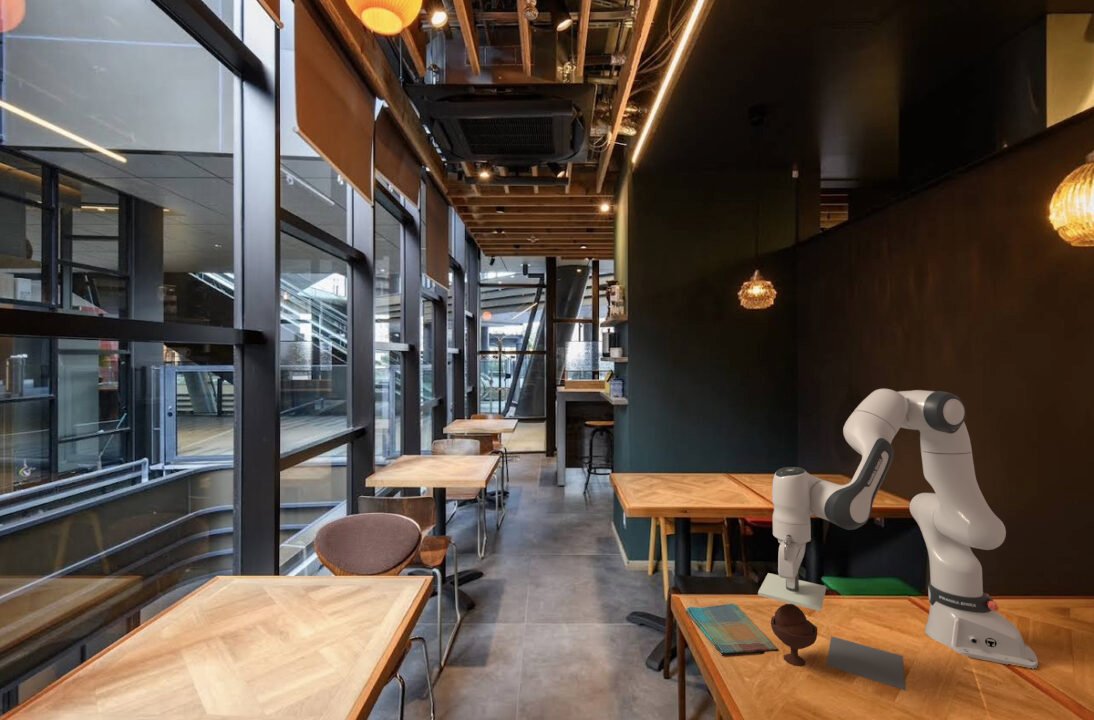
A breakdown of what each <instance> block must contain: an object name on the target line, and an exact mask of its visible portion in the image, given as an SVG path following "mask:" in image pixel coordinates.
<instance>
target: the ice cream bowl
mask: <svg viewBox="0 0 1094 720" xmlns="http://www.w3.org/2000/svg"><path fill="white" fill-rule="evenodd" d="M770 618H771V619H770V625H771V630H772V631H773V634H774V635H775V636H776V637H777V639H779V640H780V641H781V642H782V644H784V645H786V646H787V647H789V648H790V653H787V654H785V655H783V660H784V661H785V662H786V663H787V664H789V665H791V666H794V667H804V666H806V661H807V660H805V659H804V658H803V657H801V656H800V655H799V650H803V649H807V648H808V647H811V646H812V645H813V644H815V642H816V641H817V636H818V626H816V625H815V624H814V623H813V622H811V621H809V620H808V619H807V617H806V615H805V613H804V611H803V610H802V609H800V607H799V606H797V605H794V604H790V603H785V604H783V605H781V606H779V607H778V608H777V609H776V611H775V613H774V616H771V617H770Z"/></svg>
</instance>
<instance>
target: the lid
mask: <svg viewBox="0 0 1094 720" xmlns="http://www.w3.org/2000/svg"><path fill="white" fill-rule="evenodd" d="M799 576H800V575H799V572H798V573H797V574H796V577H795V588H794V589H792V588H788V587H787V579H785V578H781V577H780V576H779V574H774V573H769V572H768V573H767V575H766V576H765V578H764V580H763V582H762V583H761V586H760V587H759V589H758V592H757V595H758V596H759V597H764V598H766V599H770V600H775V601H778V602H781V603H785V604H794V605H795V606H797V607H802V608H806V609H810V610H813V611H817V612H822V608H823V603H824V600H825V599H824V598H825V595H826V590H827V586H826V585H822V584H818V583H814V582H809V581H805V580H801V579H799V578H800V577H799Z"/></svg>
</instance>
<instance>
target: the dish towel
mask: <svg viewBox="0 0 1094 720" xmlns="http://www.w3.org/2000/svg"><path fill="white" fill-rule="evenodd" d="M685 609H686V610H685V613H686V615H687V616H688V618H689V619H691V621H692V622H693V623H694V624H695V625H696V626H697V627H698V628H699V630H700V631H701V632H702V633H703V635H704V636H705V637H706V638H707V639H708V641H709V642H710V643H711V644H713V645H714V646H715V647H714V646H713V645H712V646H713V647H714V649H715V650H716V651H717V652H718V651H719V652H720V653H721V654H722V655H721V654H720V653H719V652H718V653H719V654H720V655H721V657H722V656H725V657H734V656H738V657H739V656H746V655H747V656H749V655H750V656H751V655H753V656H754V655H763V654H765V653H766V652H771V651H777V652H778V651H779V650H780V649H779V648H778V647H777V646H776V645H775V644H774V643H773V642H772V641H771V640H770V639H769V638H768V636H766V634H765V633H763V631H762V630H761V629H760V628H759V627H758V626H757V625H756V624H755V623H754V622H753V621H752V620H751V619H750V618H749V617H748V616H747V615H746V614H745V612H744V611H742V609H741V608H740V607H739V606H738V605H737V604H735V603H727V604H721V605H720V604H719V605H712V606H704V607H703V606H702V607H701V606H699V607H698V606H697V607H696V606H695V607H694V606H688V607H686V608H685Z"/></svg>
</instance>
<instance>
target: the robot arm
mask: <svg viewBox="0 0 1094 720" xmlns="http://www.w3.org/2000/svg"><path fill="white" fill-rule="evenodd" d="M853 410H854V411H853V412H851V414H850V415H849V417H848V418H847V420H846V421H845V423H844V425H843V429H842V430H843V431H842V433H843V437H844V439H845V441H846V442H847V443H848V445H849V446H850V447H851V449H852V450H854V451H855V452H856V453H858V454H859V455H861V461H860V462H859V465H858V466H857V469H856V470H855V473H854V475H853V476H852V479H851V481H850V482H848V483H846V484H838V483H835V482H831V481H830V480H825V479H821V478H819V477H816V476H814V475H812V474H810V473H809V472H807V471H806V470H805V469H804V468H802V467H797V466H791V467H790V466H786V467H782V468H779V469H778V470H776V471H775V473H774V475H773V479H772V487H771V488H772V489H771V492H772V493H771V495H772V496H771V497H772V498H771V499H772V505H773V513H772V535H773V536H774V537H775V538H776V539H777V541H778V543H779V546H778V556H777V557H778V558H777V561H778V562H777V565H778V567H777V571H778V572H777V573H778V574H777V575H779V576H780V577H781V578H785V579H787V587H788V588H792V589H794V588H795V577H796V574H797V573H798V574H799V569H800V567H801V564H802V562H803V558H804V557H805V553H806V545H807V543H808V542H811V540H812V537H811V535H812V533H811V532H812V531H811V530H812V529H811V526H812V525H811V516H816V517H818V518H821V519H823V520H826V521H828V522H830V523H832V524H834V525H836V526H837V527H840V528H842V529H845V530H847V531H849V530H851V531H853V530H856V529H859V528H860V527H861V528H862V526H864V525H865V524H866V523H867V522H868V520H869V519H870V517H871V513H872V509H873V505H874V503H875V502H874V501H875V499H876V497H877V495H878V492H879V490H880V487H881V486H882V484H883V482H884V480H885V477H886V476H887V473H888V471H889V469H890V466H891V464H892V462H893V459H894V454H895V451H894V447H893V445H892V441H893V440H894V438H895V437H896V435H897V433H898V432H899V430H900V429H902V428H903V429H907V430H914V431H919V433H920V434H919V435H920V436H919V441H920V443H919V444H920V454H921V462H922V471H923V476H924V479H925V480H926V481H927V482H928V484H929V485H930V486H931V487H932V489H933V491H934V492H921V493H918V494H916V495H915V496H914V497H912V499H911V500H910V504H909V512H910V514H911V516H912V518H913V519H914V521H915V522H916V523H917V525H918V527H919V529H920V532H921V534H922V537H923V539H924V542H925V546H926V549H927V554H928V560H929V574H930V575H929V577H930V581H929V582H928V586H927V589H928V590H927V591H928V593H927V594H928V601H929V603H930V604H929V612H928V618H927V622H926V625H925V627H924V632H925V634H926V635H927V637H929V638H930V639H932V640H933V641H936V642H938V643H940V644H942V645H944V646H946V647H948V648H950V649H951V650H953V651H954V652H956V653H958V654H959V655H962V656H965V657H968V658H971V659H977V660H980V661H981V660H982V661H983V660H984V661H987V662H993V663H998V664H1003V665H1008V664H1015V665H1020V666H1024V667H1028V668H1027V669H1029V668H1032V669H1031V670H1035V669H1037V668H1038V667H1037V666H1039V660H1038V657H1037V655H1036V653H1035V652H1034V650H1033V649H1032V648H1031V647H1030V646H1029V645H1027V644H1026V643H1025V642H1024V639H1023V636H1022V634H1021V632H1020V631H1019V629H1018V627H1016V625H1014V623H1012V622H1011V621H1010V620H1008V619H1007V618H1006V617H1004V616H1003V615H1002V614H1001V613H999V612H997V611H998V610H999V608H1000V607H999V605H998V604H997V603H996V601H994V599H993V598H992V597H991V596H990V595H989V594H988V593H987V592H986V593H985V592H984V591H983V590H984V587H983V568H982V564H981V562H980V561H979V559H978V558H977V557H976V555H975V554H974V553H973V551H972V548H974V549H979V550H985V551H990V550H995V549H997V548H998V547H1000V546H1002V544H1003V543H1004V542H1005V539H1006V535H1007V534H1006V533H1007V530H1006V526H1005V525H1004V522H1003V521H1002V520H1001V519H1000V518H999V517H998V516H997V514H995V513H994V511H992V509H991V507H990V506H989V504H988V503H987V501H986V498H985V497H984V495H983V493H982V491H981V489H980V486H979V484H978V481H977V477H976V471H975V464H974V457H973V450H972V444H971V439H970V434H969V431H968V429H967V426H966V423H965V419H966V416H967V415H966V414H967V413H966V412H967V410H966V406H965V404H964V403H963V401H962V400H961V398H960V397H959V396H958V395H956V394H953V393H950V392H947V391H942V390H937V391H934V390H925V389H924V390H923V389H915V390H914V389H912V390H899V391H897V390H893V389H891V388H890V389H889V388H879V389H875V390H873V391H872V392H871V393H870V394H869V395H867V396H866V397H865V398H864V399H863V400H862V401H861V402H860V403H859V404H858V405H857V407H855V409H853ZM1034 668H1035V669H1034Z"/></svg>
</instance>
